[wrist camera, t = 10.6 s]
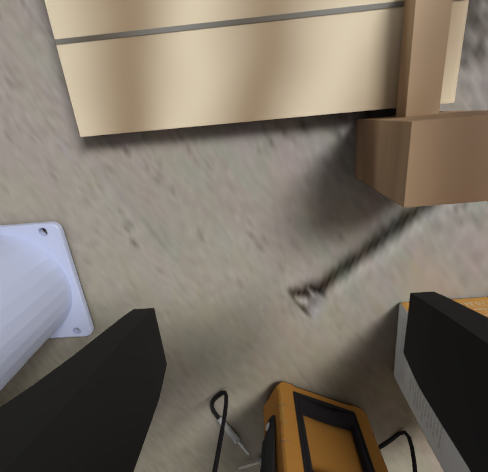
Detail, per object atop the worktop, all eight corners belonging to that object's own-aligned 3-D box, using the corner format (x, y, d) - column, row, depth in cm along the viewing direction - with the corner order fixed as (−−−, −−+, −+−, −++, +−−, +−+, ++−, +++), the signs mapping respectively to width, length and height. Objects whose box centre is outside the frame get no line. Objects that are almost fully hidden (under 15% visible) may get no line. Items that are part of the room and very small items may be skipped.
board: (91, 135, 17) (80, 137, 16) (41, -69, 14) (21, -85, 12) (439, 103, 16) (454, 102, 14) (469, -125, 13) (490, -149, 11)
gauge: (354, 177, 17) (403, 207, 12) (360, 2, 14) (429, -69, 9) (429, 170, 17) (516, 198, 11) (451, -8, 14) (581, -89, 8)
